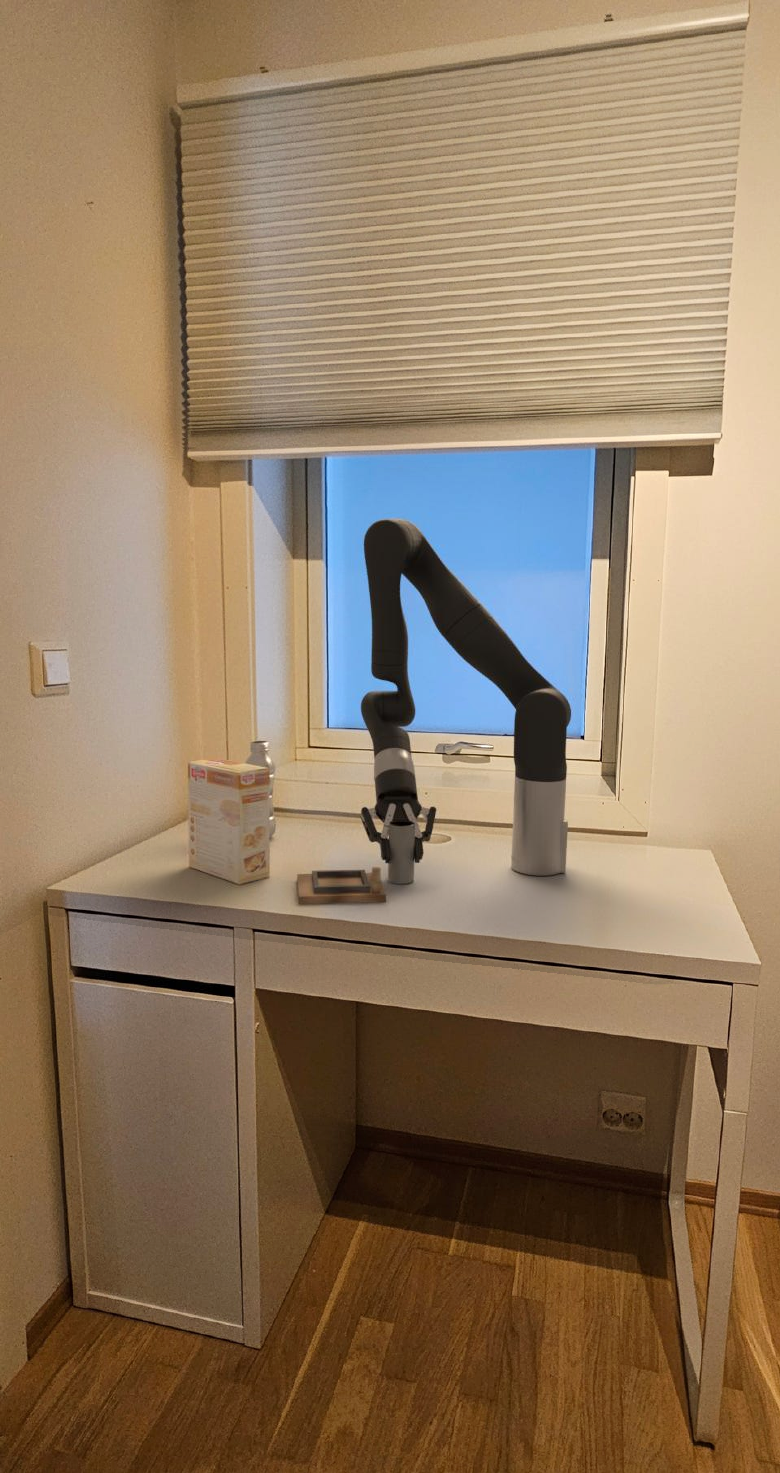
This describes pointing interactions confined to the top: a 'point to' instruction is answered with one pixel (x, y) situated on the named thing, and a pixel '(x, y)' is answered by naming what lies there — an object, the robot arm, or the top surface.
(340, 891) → the socket board
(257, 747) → the plastic bottle
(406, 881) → the grey hollow cylinder
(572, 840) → the top surface
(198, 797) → the coffeecake box
